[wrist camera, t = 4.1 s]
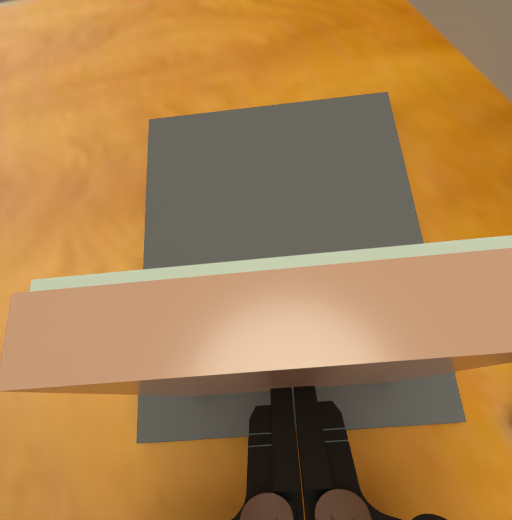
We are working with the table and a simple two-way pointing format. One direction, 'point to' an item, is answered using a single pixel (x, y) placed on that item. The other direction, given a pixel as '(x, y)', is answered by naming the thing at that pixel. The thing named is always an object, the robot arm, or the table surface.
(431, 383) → the charcoal mat
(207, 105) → the table surface
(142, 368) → the terracotta tile
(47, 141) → the table surface
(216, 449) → the table surface
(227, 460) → the table surface
